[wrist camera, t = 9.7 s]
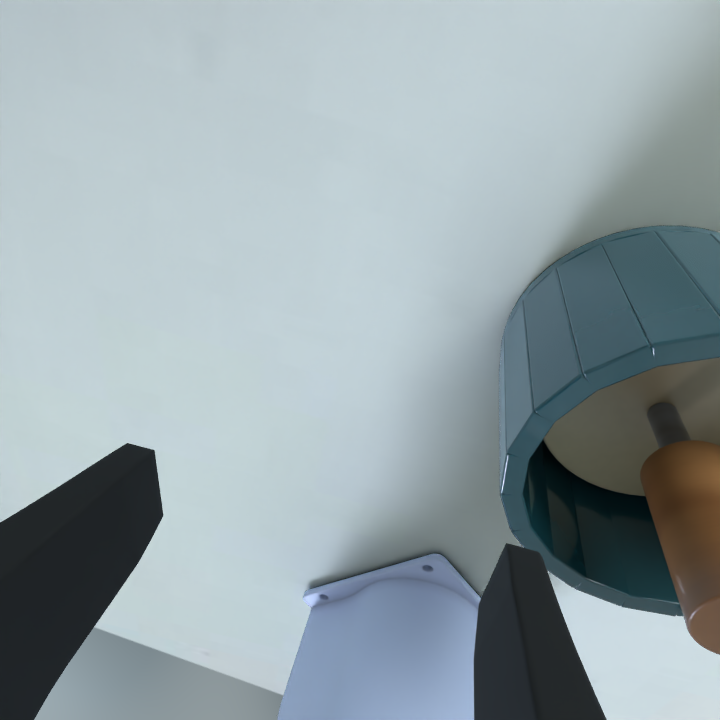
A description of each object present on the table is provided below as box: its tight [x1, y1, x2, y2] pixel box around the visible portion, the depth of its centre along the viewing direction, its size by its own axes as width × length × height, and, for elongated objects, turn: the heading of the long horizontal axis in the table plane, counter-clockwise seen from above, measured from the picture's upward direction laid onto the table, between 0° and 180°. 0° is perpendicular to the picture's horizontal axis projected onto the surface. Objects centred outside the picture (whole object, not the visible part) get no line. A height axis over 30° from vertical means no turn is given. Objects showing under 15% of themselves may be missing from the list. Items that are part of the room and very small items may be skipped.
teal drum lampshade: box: [499, 226, 720, 616], centre depth 15 cm, size 9×9×7 cm
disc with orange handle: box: [543, 358, 720, 655], centre depth 14 cm, size 7×7×9 cm
